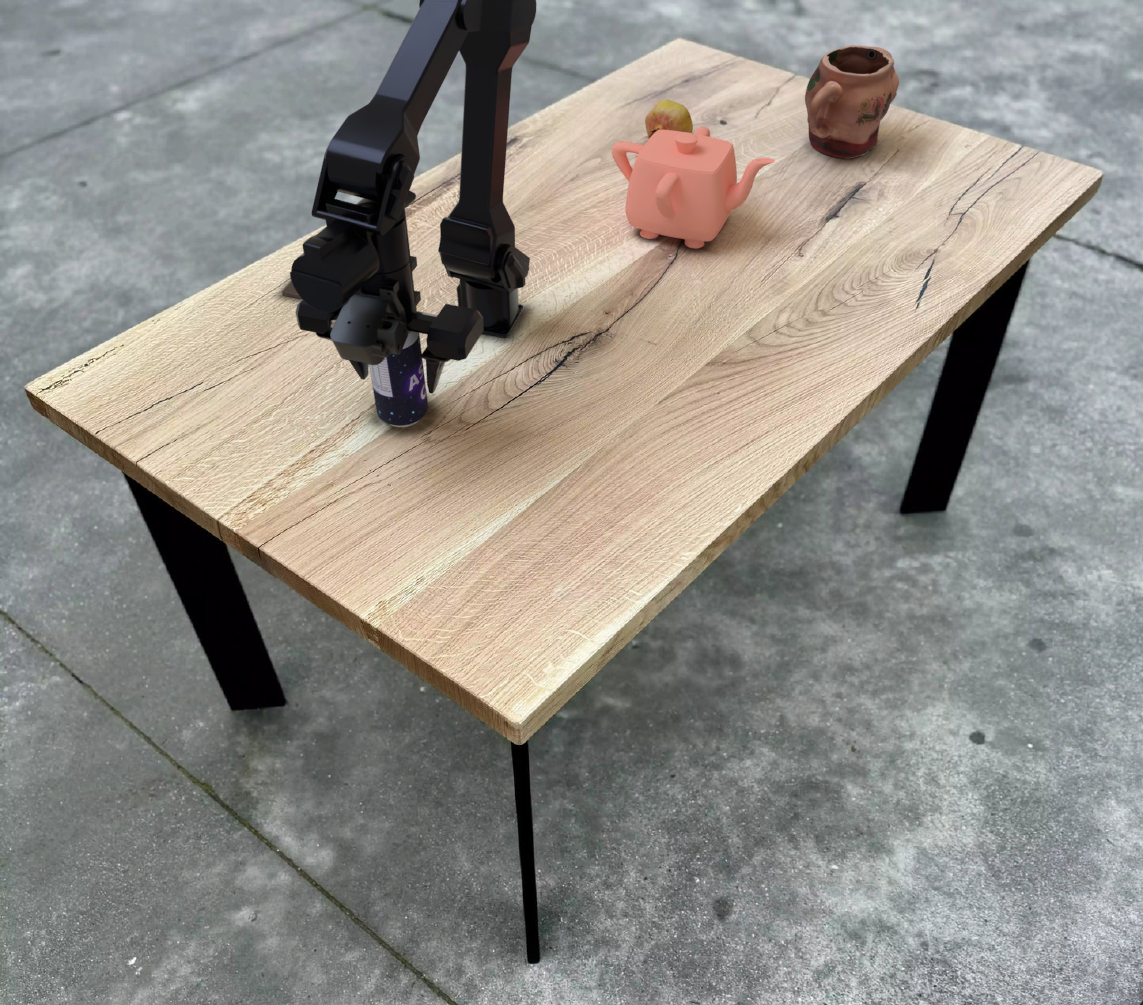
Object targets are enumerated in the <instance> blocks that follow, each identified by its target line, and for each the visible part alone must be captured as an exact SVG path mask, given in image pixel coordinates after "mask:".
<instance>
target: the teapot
mask: <svg viewBox="0 0 1143 1005" xmlns="http://www.w3.org/2000/svg"><path fill="white" fill-rule="evenodd" d="M710 130H711V129H710V128H708V127H707V126H700V127H698V128H696V129H695V131H694V132H692V133H687V132H680V131H672V130H657V131H656V132H655V133H654V134H653V135H652V136H651V137H650V139H649V138H648V140H646V142H645V143H644V144H641V143H636V142H632V141H624V140H623V141H617V142H615V143H613V145H612V147H611V155H612V159H613V161H614V163H615V164H616V165H615V166H617V168H618V169H619V171H620V172H621V174H622V175H623V176H624V178H625V179H626V181H627V182H628V186H627V192H626V198H625V210H624V211H625V215H626V220H627V222H628V224H629V225H630V226H632V227H633V228H637V229H638V230H640V232H639V235H640V236H641V237H642V238H643V239H648V240H653V239H656V238H658V237H659V236H660V235H661V236H665V237H670V238H675V239H681V240H684V245H685V247H688V248H690V249H700V248H703V247H704V246H705V242H712V241H714V240H715V238H716V237H717V236H718V234H719V232H720V231H721V230H722V228H723V227H724V225H725V224H726V221H727V220H728V218H729V215H730V214H731V212H732V211H734V210H737V209H739V207H741V206H742V205H743V204H744V203H745V202H746V201H747V199H748V197H749V195H750V193H751V191H752V188H753V185H754V182H755V179H756V176H757V174H758V173H759V172H760V171H761V169H763V168H764V167H766V166H768V165H771V164H773V163H775V162H776V160H775V159H773V158H769V157H760V158H759V157H758V158H754V159H751V161H750V162H748V164H747V165H746V167H745V169H744V171H743V173H742V177H741V179H740V181H738V171H737V170H738V169H737V160H736V153H735V148H734V144H733V143H732V142H730V141H728V140H724V139H721V138H716V137H712V136H711V131H710ZM627 153H633V154H636V158H635V161H634V164H633V167H632V165H631V163H630V161H629V159H628V155H627Z"/></svg>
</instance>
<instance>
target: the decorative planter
mask: <svg viewBox="0 0 1143 1005" xmlns="http://www.w3.org/2000/svg"><path fill="white" fill-rule="evenodd" d="M899 86H900V77H899V75H898V74H897V72H896V69H895V60H894V58H893V56H892V53H891V52H889V51H888V50H887V49H884V48H882V47H880V46H866V45H853V44H851V45H847V46H843V47H840V48H836V49H833V50H831V51H828V52H827V53H826V54H824V55H823V56H822V57H821V59H820V61H819V63H818V66H817V67H816V68H815V70H814V72H813V73H812V75H811V77H810V78H809V80H808V83H807V85H806V89H805V93H804V103H805V109H806V113H807V118H806V119H807V124H808V125H807V126H808V139H809V144H810V146H811V147H812V148H813V149H815V150H816V151H817V152H821V153H822V154H824V155H827V156H832V157H835V158H841V159H855V158H858V157H861V156H864V155H866V154H868V153H869V152H870V151H871V150H872V149H873V148H875V147H876V146H877V144H878V138H879V130H880V126H881V122H882V120H883V119H884V118H885V116H886V115H887V113H888V112H889V109H890V106H891V104H892V102H894V100H895V99H896V97H897V92H898V90H899V89H898V88H899Z"/></svg>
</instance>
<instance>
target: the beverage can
mask: <svg viewBox="0 0 1143 1005" xmlns="http://www.w3.org/2000/svg"><path fill="white" fill-rule="evenodd" d="M422 353H423V351H422V344H421V336H420V333H417V332H412V331H408V337H407V339H406V342H405V344H404V347H403V349H402V351H401V353H400V354H398V355H397V354H389V356H388V357H387V358H384V360H383V361H382V362H381V363H380V364H378V365H369V372H370V373H369V374H370V380H371V386H372V393H373V399H374V404H375V410H376V415H377V417H378V418H379V419H380V420H381V421H382V422H384V423H386V424H388V425H390V426H392V427H395V428H407V427H411V426H413V425H415V424H417V423H418V422H419V421H420V420H422V419H423V418H424V417H425V416H426V415H427V413H428V411H429V402H428V393H427V383H426V377H425V369H424V359H423V358H422V357H421V355H422Z"/></svg>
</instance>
